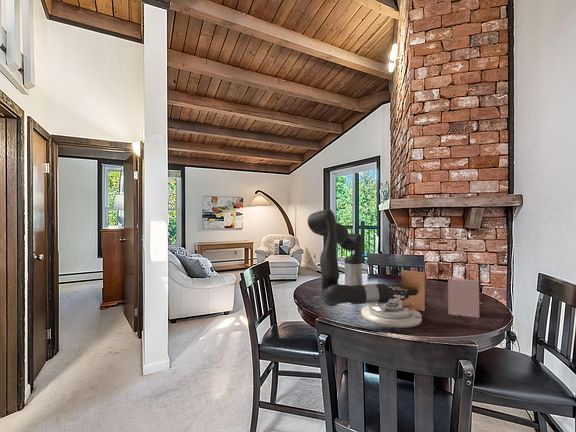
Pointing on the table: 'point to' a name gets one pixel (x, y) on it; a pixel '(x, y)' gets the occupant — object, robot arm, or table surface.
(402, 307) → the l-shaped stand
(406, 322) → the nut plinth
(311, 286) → the table surface
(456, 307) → the greeting card
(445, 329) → the table surface
